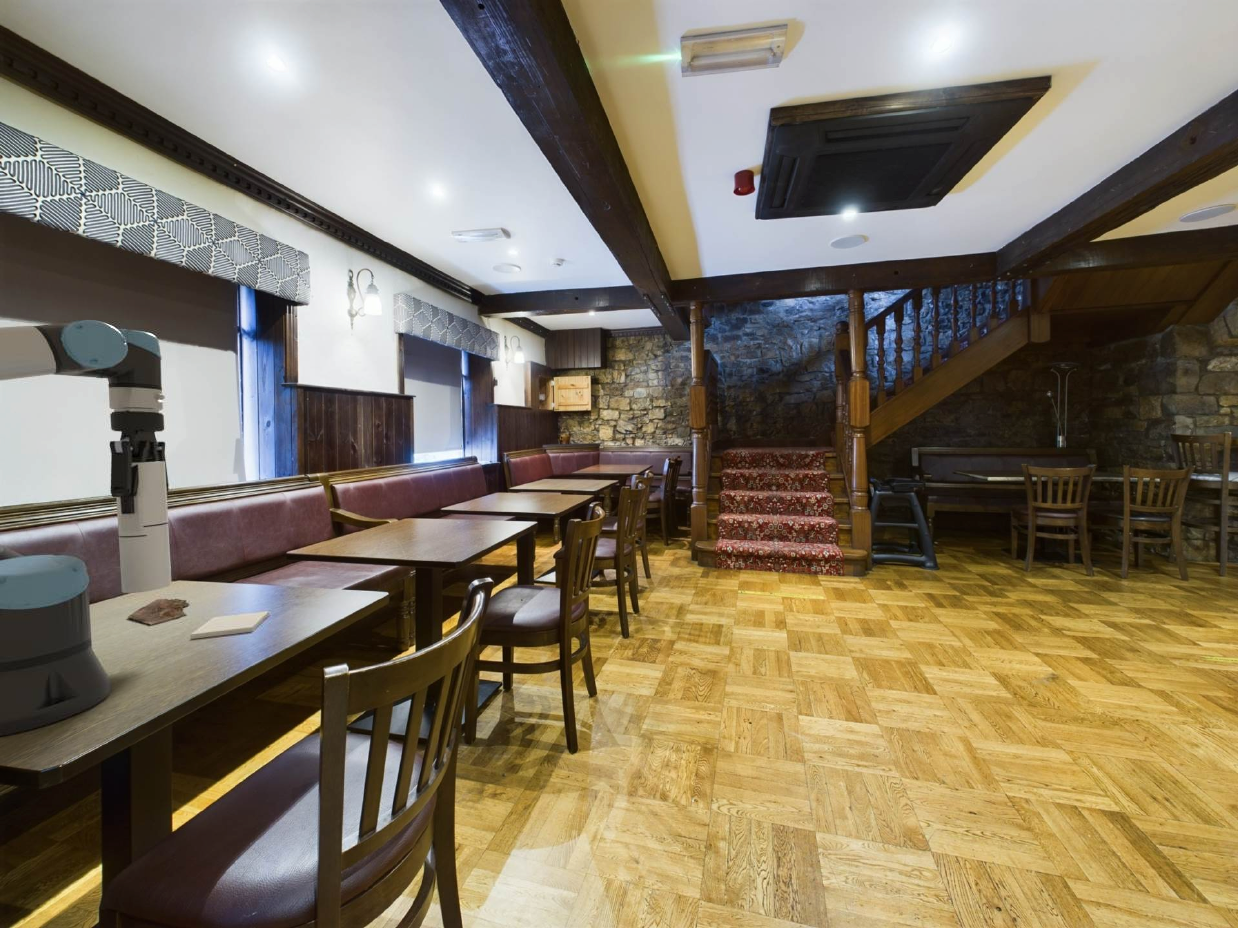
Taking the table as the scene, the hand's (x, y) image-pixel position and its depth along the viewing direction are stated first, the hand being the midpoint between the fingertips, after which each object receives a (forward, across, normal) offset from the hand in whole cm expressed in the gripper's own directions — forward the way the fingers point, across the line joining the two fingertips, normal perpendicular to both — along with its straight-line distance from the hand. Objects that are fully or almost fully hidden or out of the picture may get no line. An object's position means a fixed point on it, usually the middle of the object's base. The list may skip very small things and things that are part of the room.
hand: (143, 527), depth 98 cm
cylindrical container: (+12, 0, 0) cm, 12 cm away
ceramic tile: (+25, +10, -10) cm, 29 cm away
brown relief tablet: (+25, +30, +12) cm, 41 cm away
